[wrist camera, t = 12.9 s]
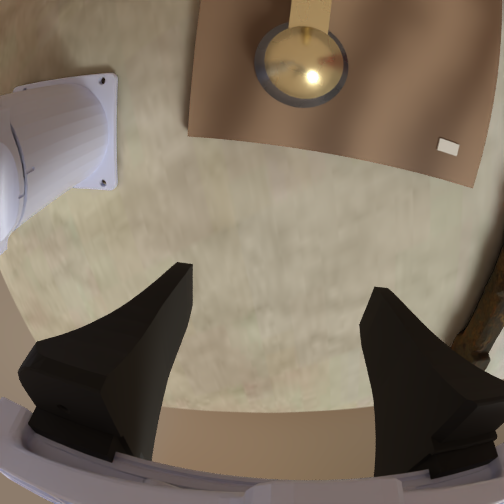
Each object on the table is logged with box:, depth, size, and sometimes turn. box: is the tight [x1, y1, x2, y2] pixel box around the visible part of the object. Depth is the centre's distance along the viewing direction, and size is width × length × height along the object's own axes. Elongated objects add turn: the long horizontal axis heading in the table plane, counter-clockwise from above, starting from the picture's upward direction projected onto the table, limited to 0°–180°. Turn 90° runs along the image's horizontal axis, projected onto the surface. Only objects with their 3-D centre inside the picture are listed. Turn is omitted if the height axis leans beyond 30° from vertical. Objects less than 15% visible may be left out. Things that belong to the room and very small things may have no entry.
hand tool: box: [451, 245, 504, 371], centre depth 22 cm, size 19×4×5 cm, turn 175°
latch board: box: [188, 0, 502, 188], centre depth 14 cm, size 19×17×1 cm
